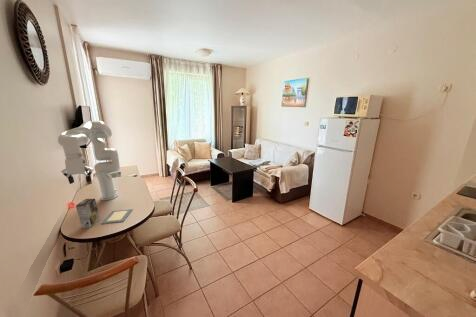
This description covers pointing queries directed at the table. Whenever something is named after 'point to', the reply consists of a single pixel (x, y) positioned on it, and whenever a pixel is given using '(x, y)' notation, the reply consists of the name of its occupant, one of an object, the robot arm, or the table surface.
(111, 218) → the mat
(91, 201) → the coffee box
